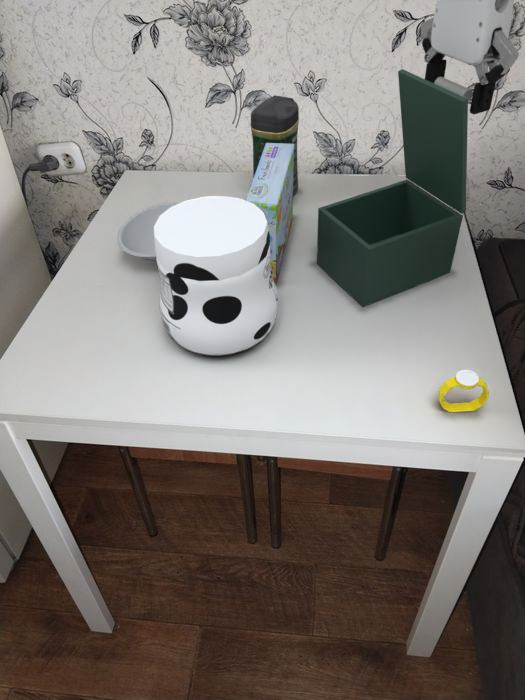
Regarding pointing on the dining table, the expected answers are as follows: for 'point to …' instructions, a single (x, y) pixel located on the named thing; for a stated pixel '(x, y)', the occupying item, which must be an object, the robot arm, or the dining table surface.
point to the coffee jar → (275, 128)
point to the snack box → (275, 197)
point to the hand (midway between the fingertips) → (455, 100)
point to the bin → (386, 241)
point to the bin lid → (435, 136)
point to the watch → (465, 381)
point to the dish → (141, 232)
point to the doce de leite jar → (215, 274)
